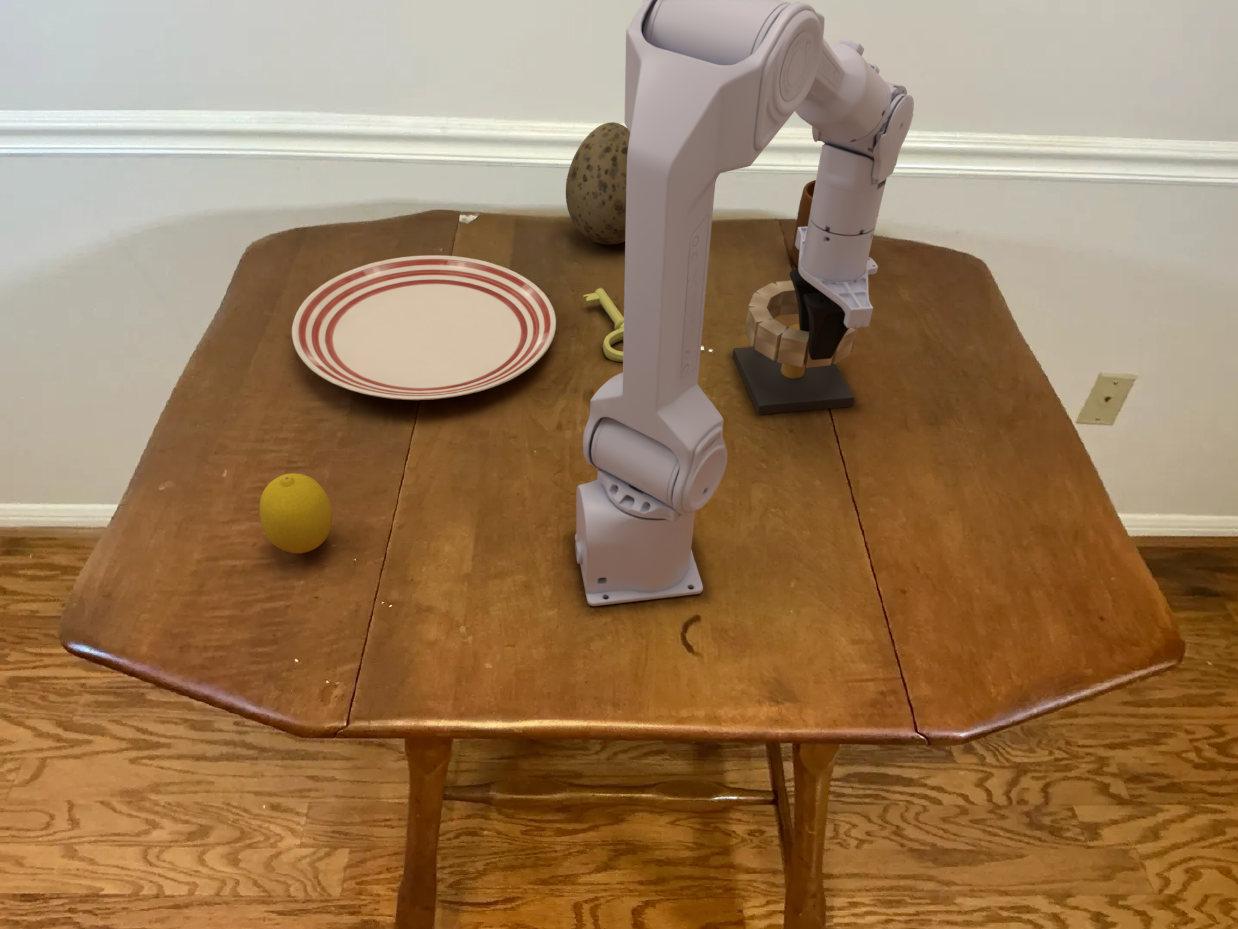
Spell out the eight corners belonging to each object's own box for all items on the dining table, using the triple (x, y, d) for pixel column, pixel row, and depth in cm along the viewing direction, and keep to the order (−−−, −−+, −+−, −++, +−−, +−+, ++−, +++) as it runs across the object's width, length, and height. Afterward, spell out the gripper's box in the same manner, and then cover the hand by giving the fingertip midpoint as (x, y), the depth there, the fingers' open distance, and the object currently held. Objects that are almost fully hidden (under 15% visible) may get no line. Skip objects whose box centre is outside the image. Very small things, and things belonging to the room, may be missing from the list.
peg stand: (758, 415, 95) (766, 362, 90) (732, 357, 102) (738, 306, 98) (852, 406, 96) (865, 354, 92) (820, 350, 103) (830, 299, 99)
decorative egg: (657, 259, 117) (664, 141, 107) (570, 263, 116) (569, 143, 106) (643, 218, 125) (649, 104, 115) (562, 221, 124) (561, 106, 114)
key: (599, 300, 110) (599, 284, 108) (675, 347, 103) (677, 330, 102) (552, 323, 106) (551, 306, 104) (628, 373, 99) (628, 356, 98)
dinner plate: (522, 262, 115) (521, 238, 113) (587, 395, 96) (588, 368, 94) (288, 295, 108) (282, 269, 106) (309, 445, 89) (302, 417, 87)
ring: (765, 372, 90) (769, 346, 88) (733, 309, 98) (736, 284, 96) (871, 361, 92) (877, 336, 90) (831, 300, 100) (836, 276, 98)
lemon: (305, 582, 77) (284, 512, 71) (257, 554, 79) (234, 484, 73) (353, 541, 80) (337, 471, 75) (306, 515, 82) (287, 446, 77)
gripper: (919, 259, 77) (883, 391, 86) (856, 180, 88) (830, 305, 97) (837, 264, 76) (810, 398, 85) (783, 184, 87) (764, 310, 96)
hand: (816, 349), depth 91 cm, fingers closed on ring, 2 cm apart
